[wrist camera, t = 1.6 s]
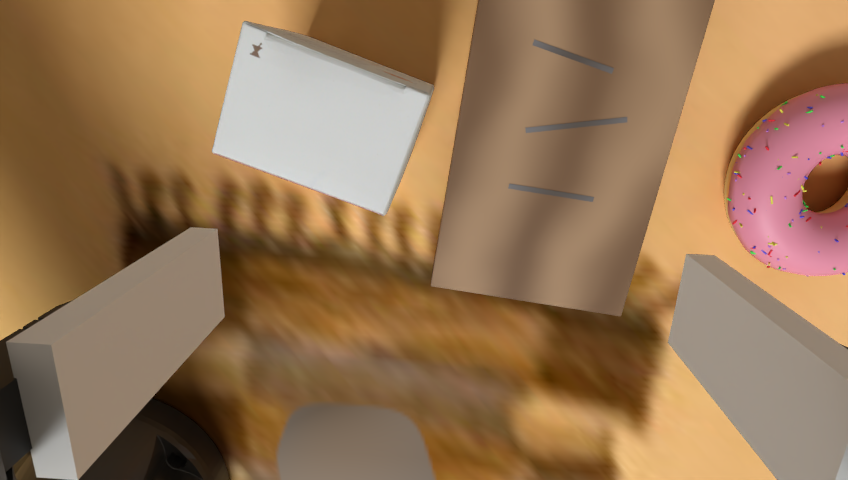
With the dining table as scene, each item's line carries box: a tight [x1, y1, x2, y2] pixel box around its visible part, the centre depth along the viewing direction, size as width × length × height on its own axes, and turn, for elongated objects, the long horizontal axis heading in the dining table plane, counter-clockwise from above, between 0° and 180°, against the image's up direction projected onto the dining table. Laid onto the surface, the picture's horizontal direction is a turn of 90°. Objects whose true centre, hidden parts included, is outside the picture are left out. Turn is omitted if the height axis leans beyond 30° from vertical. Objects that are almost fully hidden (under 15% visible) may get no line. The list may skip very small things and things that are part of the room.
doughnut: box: [724, 83, 848, 276], centre depth 30 cm, size 11×11×4 cm
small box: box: [212, 21, 434, 216], centre depth 27 cm, size 8×6×10 cm
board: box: [431, 0, 715, 316], centre depth 31 cm, size 12×20×2 cm, turn 171°
